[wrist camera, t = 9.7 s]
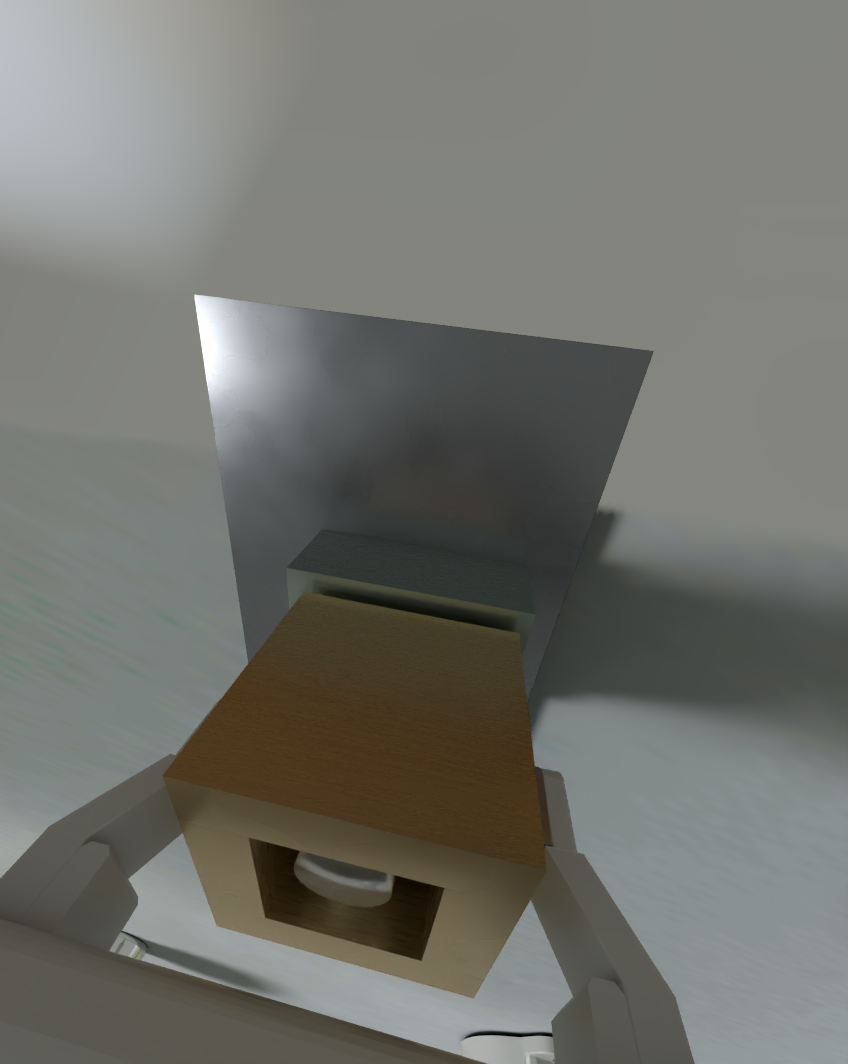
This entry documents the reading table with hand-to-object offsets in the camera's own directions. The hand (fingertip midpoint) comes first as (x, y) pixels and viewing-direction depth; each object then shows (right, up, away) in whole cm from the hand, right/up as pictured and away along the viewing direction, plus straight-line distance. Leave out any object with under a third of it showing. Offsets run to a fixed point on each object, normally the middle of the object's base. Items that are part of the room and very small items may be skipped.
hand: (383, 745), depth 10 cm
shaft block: (+1, +3, +5) cm, 6 cm away
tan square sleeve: (0, +1, +2) cm, 2 cm away
